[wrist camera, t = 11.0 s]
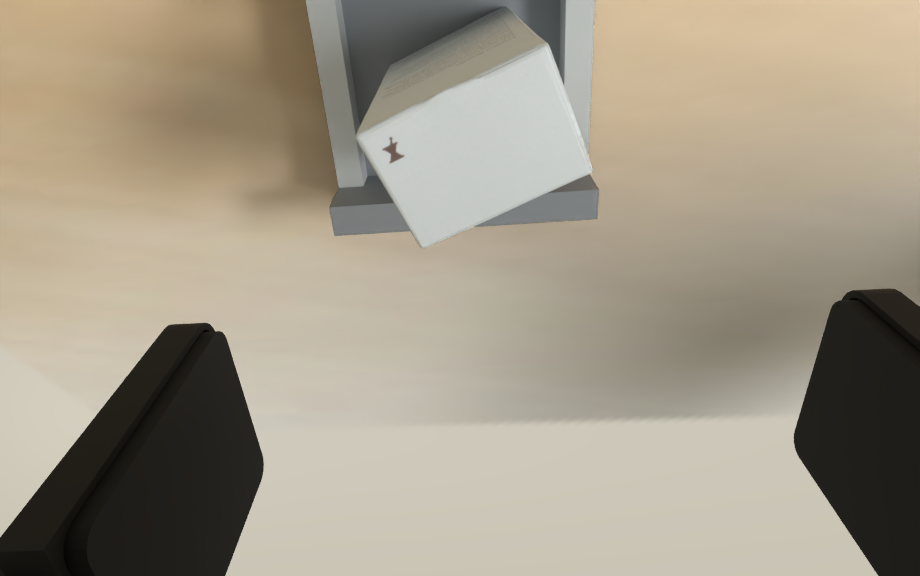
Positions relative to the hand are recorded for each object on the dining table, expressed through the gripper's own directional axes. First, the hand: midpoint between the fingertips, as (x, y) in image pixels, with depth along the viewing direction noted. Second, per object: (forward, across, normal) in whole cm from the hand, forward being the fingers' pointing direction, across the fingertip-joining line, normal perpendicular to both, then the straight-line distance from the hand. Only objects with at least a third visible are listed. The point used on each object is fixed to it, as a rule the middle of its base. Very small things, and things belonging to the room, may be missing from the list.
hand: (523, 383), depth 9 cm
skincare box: (+22, +1, -1) cm, 22 cm away
